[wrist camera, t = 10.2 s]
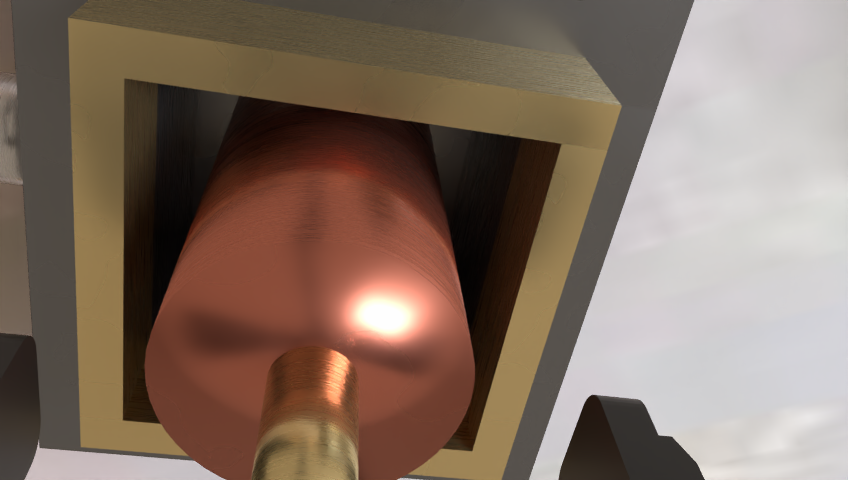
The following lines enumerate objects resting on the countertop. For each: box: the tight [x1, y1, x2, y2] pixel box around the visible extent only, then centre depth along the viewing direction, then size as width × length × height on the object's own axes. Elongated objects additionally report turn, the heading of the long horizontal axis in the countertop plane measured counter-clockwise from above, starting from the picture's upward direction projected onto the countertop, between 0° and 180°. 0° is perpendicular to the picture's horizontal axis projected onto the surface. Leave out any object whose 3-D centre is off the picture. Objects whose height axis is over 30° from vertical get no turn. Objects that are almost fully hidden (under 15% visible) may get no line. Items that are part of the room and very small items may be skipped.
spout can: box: [145, 96, 475, 480], centre depth 15 cm, size 5×5×13 cm
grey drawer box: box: [0, 0, 694, 480], centre depth 18 cm, size 14×14×8 cm
